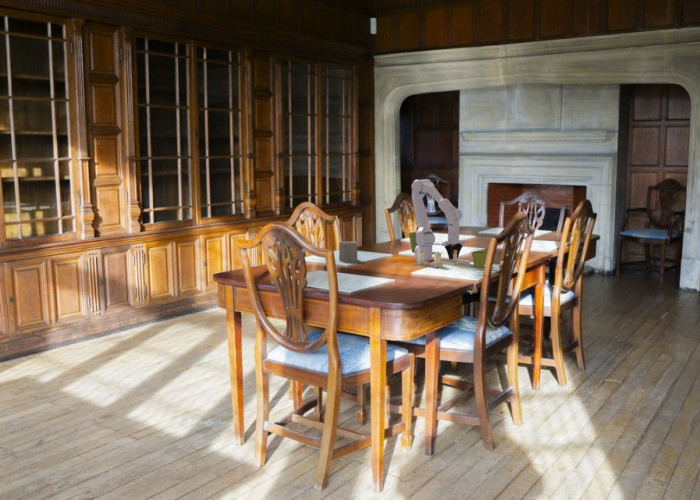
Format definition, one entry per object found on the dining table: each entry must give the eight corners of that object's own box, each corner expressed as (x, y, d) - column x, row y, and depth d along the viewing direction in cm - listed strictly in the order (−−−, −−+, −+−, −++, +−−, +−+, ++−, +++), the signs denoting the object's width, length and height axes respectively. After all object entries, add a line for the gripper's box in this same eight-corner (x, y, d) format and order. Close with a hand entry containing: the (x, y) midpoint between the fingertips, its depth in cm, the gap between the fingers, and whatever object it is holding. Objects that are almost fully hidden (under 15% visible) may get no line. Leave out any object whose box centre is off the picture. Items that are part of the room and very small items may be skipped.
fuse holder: (411, 267, 369) (411, 260, 368) (421, 265, 373) (421, 259, 372) (437, 271, 353) (437, 264, 353) (447, 270, 358) (447, 263, 357)
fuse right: (432, 267, 358) (432, 253, 358) (437, 266, 361) (437, 252, 360) (437, 268, 356) (437, 254, 355) (442, 267, 358) (442, 253, 357)
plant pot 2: (475, 271, 354) (476, 253, 352) (467, 268, 363) (467, 251, 361) (493, 270, 356) (493, 253, 355) (484, 267, 365) (485, 250, 364)
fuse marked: (448, 263, 372) (448, 250, 371) (453, 262, 374) (453, 249, 373) (453, 264, 369) (453, 250, 368) (458, 263, 371) (458, 250, 370)
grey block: (352, 262, 387) (352, 244, 386) (336, 261, 392) (335, 243, 390) (363, 259, 399) (362, 241, 398) (346, 258, 403) (346, 240, 402)
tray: (436, 265, 373) (436, 260, 373) (453, 263, 380) (453, 258, 380) (453, 268, 363) (453, 263, 363) (470, 265, 370) (470, 260, 370)
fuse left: (416, 264, 368) (416, 250, 367) (421, 263, 370) (421, 250, 369) (420, 265, 365) (421, 251, 364) (426, 264, 367) (426, 250, 366)
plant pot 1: (427, 250, 430) (427, 231, 428) (427, 253, 418) (427, 234, 417) (407, 250, 431) (407, 231, 430) (407, 253, 420) (407, 234, 418)
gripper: (448, 234, 362) (448, 261, 364) (469, 232, 370) (469, 258, 372) (439, 233, 368) (439, 259, 369) (459, 231, 376) (459, 256, 378)
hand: (453, 258), depth 371 cm, fingers closed on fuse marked, 3 cm apart
